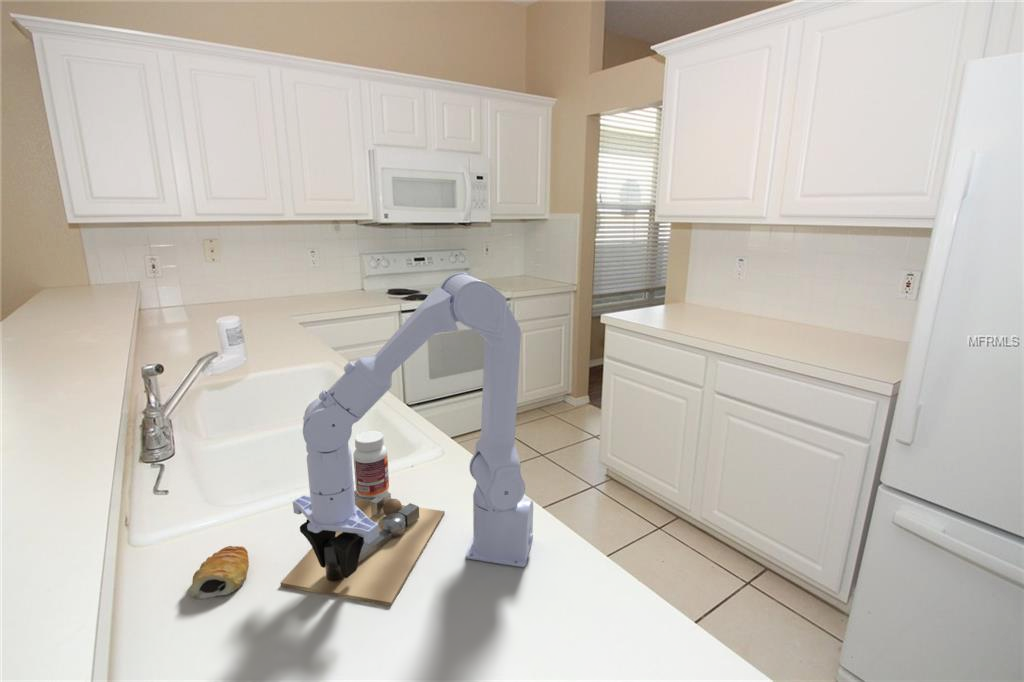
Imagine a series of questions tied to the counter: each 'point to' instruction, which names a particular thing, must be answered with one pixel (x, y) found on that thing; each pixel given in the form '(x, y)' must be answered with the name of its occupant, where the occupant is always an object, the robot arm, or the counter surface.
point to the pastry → (221, 573)
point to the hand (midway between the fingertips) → (338, 568)
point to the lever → (391, 529)
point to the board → (371, 563)
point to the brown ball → (392, 506)
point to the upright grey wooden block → (379, 504)
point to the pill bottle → (370, 464)
